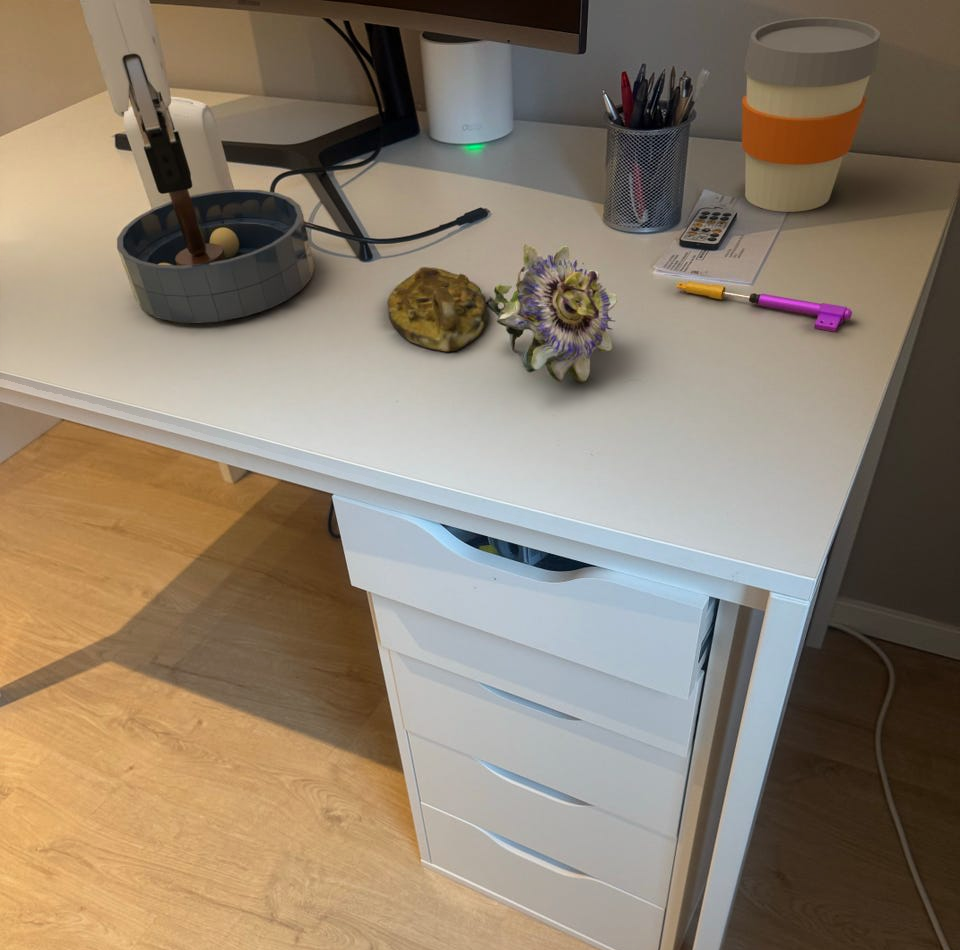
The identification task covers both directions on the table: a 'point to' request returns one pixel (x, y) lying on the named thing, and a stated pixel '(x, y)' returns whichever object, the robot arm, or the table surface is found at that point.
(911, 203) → the table surface
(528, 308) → the passion flower
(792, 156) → the reusable coffee cup
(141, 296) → the bowl
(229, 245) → the dough ball
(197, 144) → the photo printer
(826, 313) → the piston cylinder
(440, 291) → the lumpy olive cookie
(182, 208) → the wooden dough tamper
